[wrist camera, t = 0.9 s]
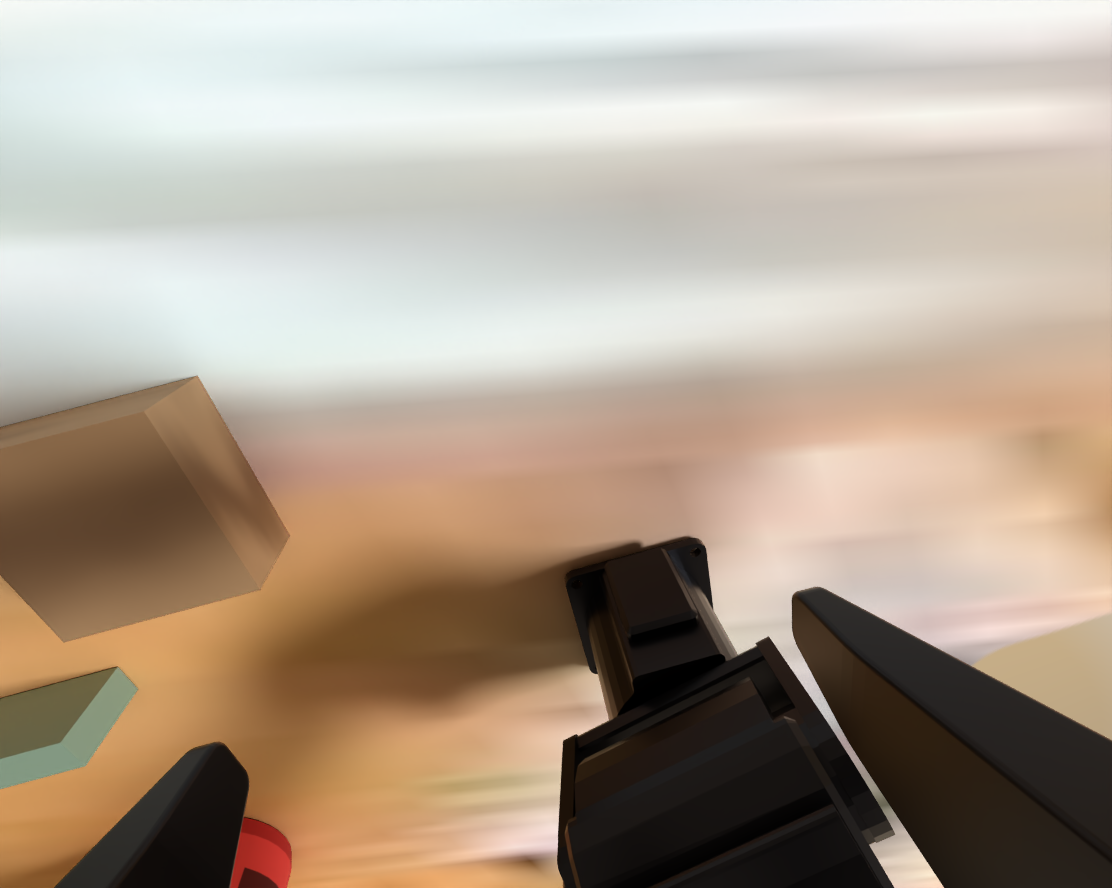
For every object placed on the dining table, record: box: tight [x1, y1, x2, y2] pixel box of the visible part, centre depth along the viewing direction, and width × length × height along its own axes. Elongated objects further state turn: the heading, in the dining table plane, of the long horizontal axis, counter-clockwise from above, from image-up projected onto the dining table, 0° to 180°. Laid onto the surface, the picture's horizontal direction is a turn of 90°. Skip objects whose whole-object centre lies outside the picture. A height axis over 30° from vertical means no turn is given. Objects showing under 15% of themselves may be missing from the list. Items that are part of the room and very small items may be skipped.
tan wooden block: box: [0, 376, 290, 642], centre depth 18 cm, size 7×7×4 cm
